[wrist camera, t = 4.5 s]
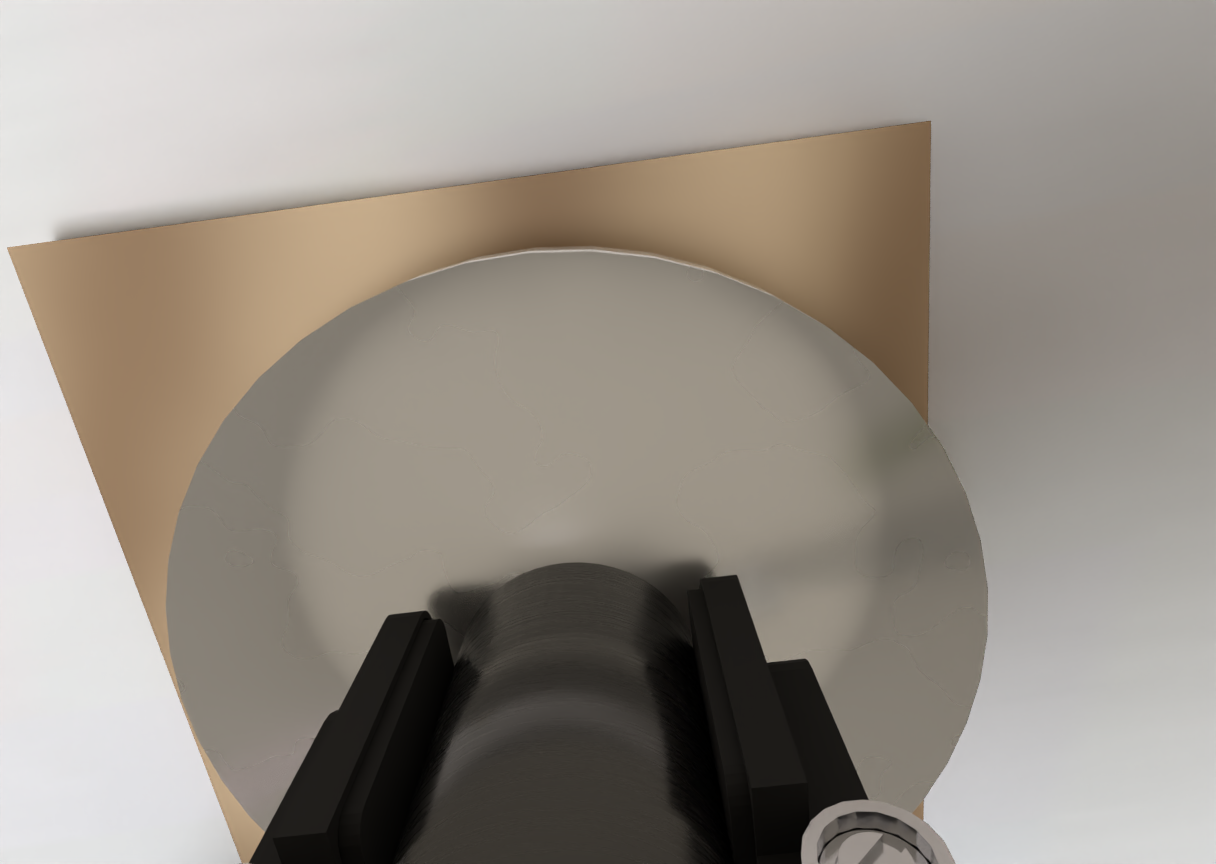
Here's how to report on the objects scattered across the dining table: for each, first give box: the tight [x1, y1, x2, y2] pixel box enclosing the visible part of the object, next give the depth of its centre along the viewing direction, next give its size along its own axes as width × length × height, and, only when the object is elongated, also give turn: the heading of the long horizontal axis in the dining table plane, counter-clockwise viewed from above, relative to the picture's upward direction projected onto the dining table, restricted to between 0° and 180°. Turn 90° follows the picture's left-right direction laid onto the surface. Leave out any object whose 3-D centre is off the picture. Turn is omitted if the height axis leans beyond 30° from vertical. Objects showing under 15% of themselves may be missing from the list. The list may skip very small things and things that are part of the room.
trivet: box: [7, 121, 931, 863], centre depth 14 cm, size 14×14×1 cm
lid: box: [166, 246, 988, 864], centre depth 9 cm, size 12×12×6 cm
